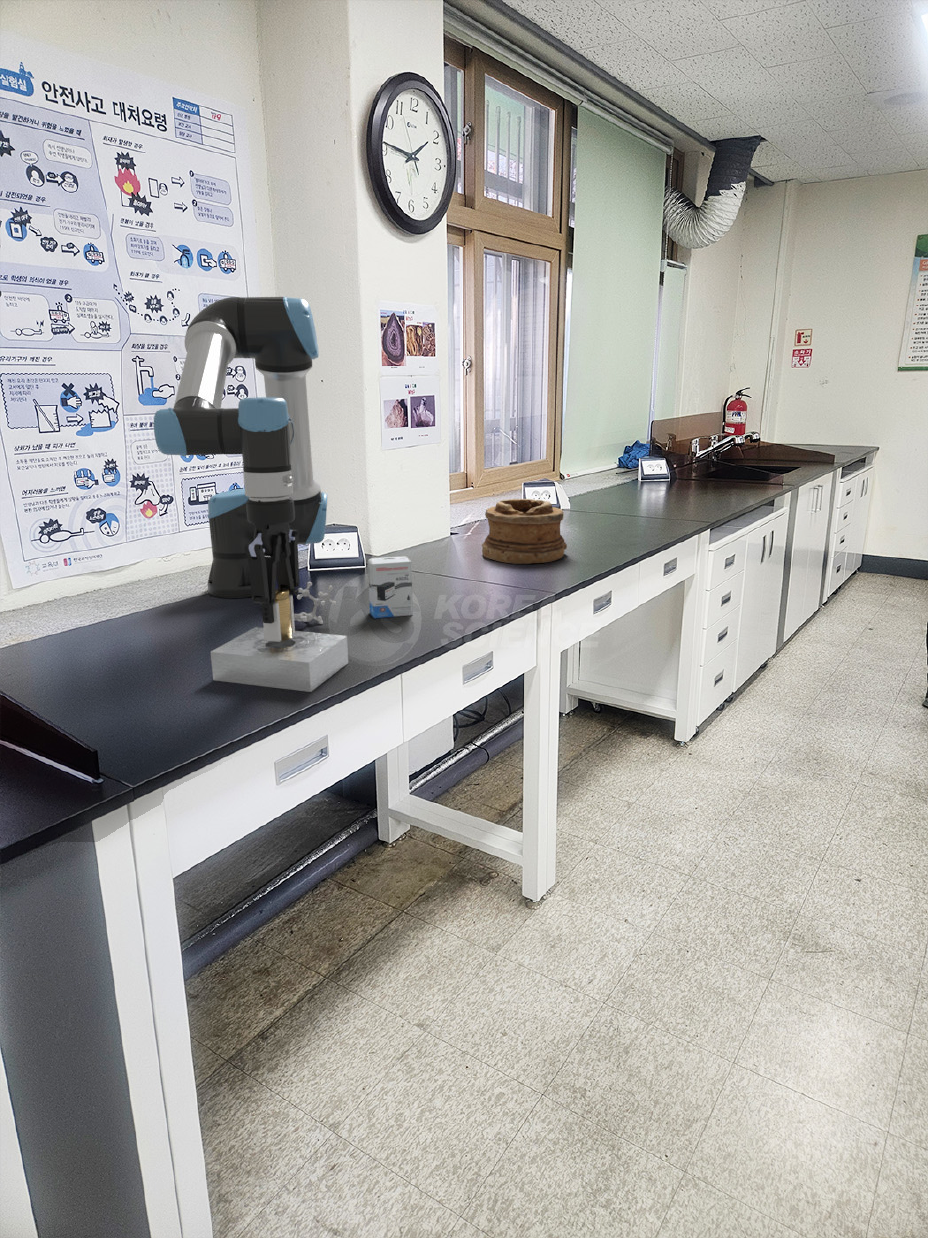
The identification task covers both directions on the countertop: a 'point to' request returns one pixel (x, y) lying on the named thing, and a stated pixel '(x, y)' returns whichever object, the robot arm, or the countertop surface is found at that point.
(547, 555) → the container
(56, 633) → the countertop surface
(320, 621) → the molecular model
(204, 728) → the countertop surface
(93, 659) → the countertop surface
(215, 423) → the robot arm
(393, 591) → the ink box
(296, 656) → the plate
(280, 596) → the cylinder
